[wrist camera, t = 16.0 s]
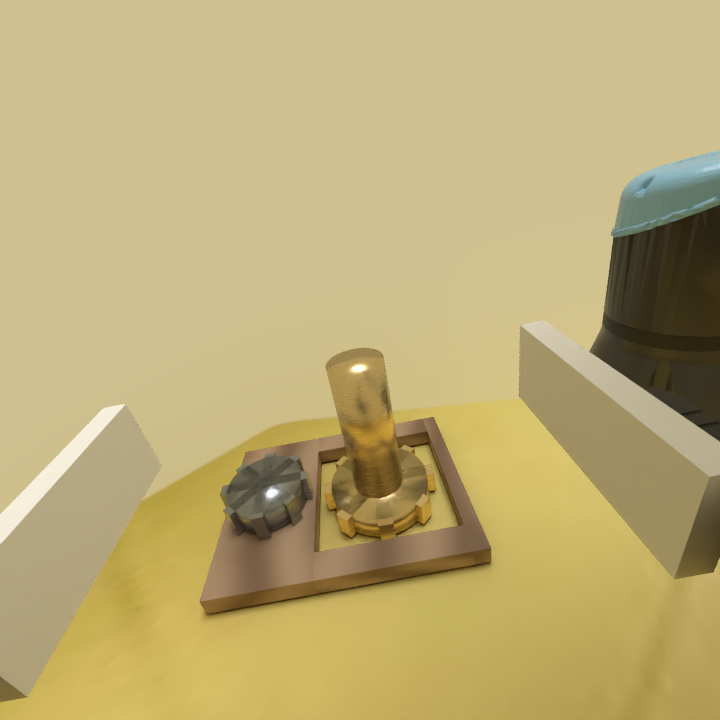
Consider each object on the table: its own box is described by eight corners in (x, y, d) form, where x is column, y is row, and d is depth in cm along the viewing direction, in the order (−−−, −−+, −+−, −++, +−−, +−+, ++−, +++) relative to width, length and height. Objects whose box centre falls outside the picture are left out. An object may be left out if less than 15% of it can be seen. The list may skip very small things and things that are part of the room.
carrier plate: (434, 427, 41) (433, 416, 40) (491, 561, 26) (491, 548, 26) (249, 462, 41) (245, 452, 40) (207, 613, 27) (199, 601, 26)
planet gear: (422, 449, 38) (406, 325, 32) (449, 530, 29) (435, 381, 23) (329, 467, 38) (295, 347, 32) (329, 553, 29) (283, 410, 23)
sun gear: (314, 465, 37) (308, 446, 35) (311, 530, 30) (303, 509, 29) (240, 479, 37) (231, 460, 35) (219, 547, 30) (208, 527, 29)
